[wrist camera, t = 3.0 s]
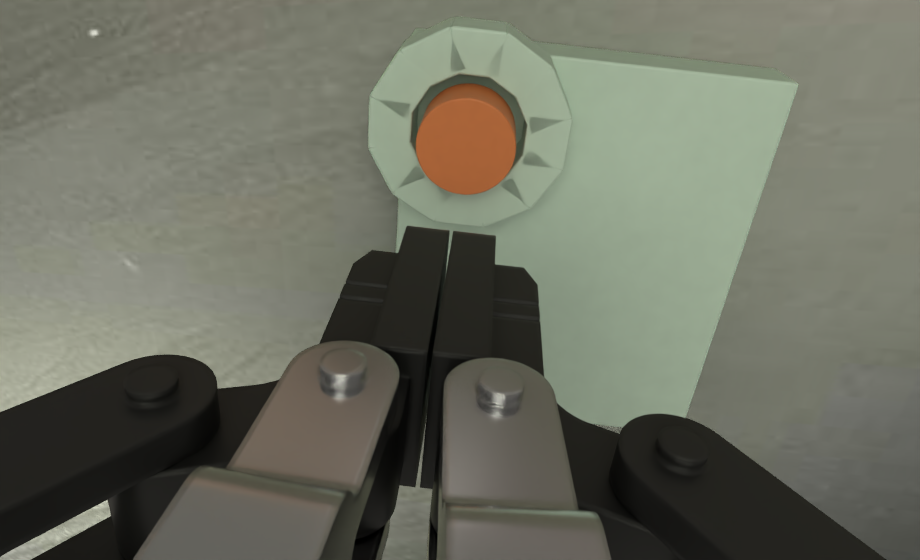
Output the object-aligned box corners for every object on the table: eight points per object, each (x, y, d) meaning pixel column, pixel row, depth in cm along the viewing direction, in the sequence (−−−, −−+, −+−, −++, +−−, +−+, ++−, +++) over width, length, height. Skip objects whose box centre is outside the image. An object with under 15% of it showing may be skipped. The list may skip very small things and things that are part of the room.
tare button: (425, 77, 18) (418, 92, 17) (522, 88, 18) (522, 104, 17) (418, 169, 20) (412, 189, 18) (508, 179, 20) (509, 200, 18)
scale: (391, -2, 20) (371, 16, 17) (785, 42, 20) (834, 69, 17) (375, 367, 27) (358, 428, 24) (670, 402, 27) (690, 466, 24)
